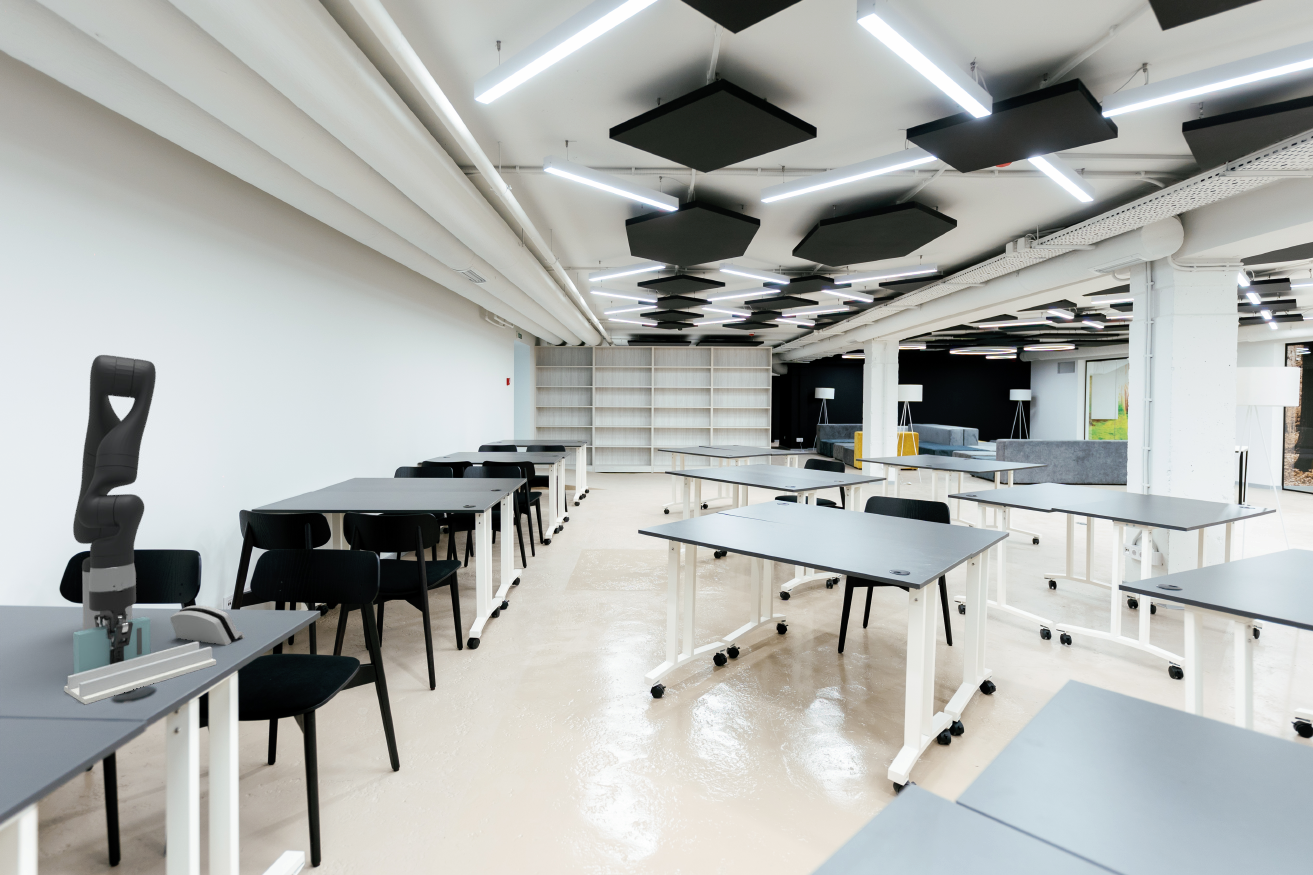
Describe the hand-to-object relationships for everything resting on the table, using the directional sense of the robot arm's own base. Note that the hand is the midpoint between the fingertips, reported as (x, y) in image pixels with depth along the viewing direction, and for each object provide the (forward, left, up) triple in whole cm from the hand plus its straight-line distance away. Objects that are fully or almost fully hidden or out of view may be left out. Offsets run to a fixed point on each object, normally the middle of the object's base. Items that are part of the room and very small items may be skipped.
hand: (113, 662), depth 128 cm
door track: (+10, +2, -2) cm, 10 cm away
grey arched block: (-4, +19, -2) cm, 20 cm away
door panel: (0, 0, -2) cm, 2 cm away
